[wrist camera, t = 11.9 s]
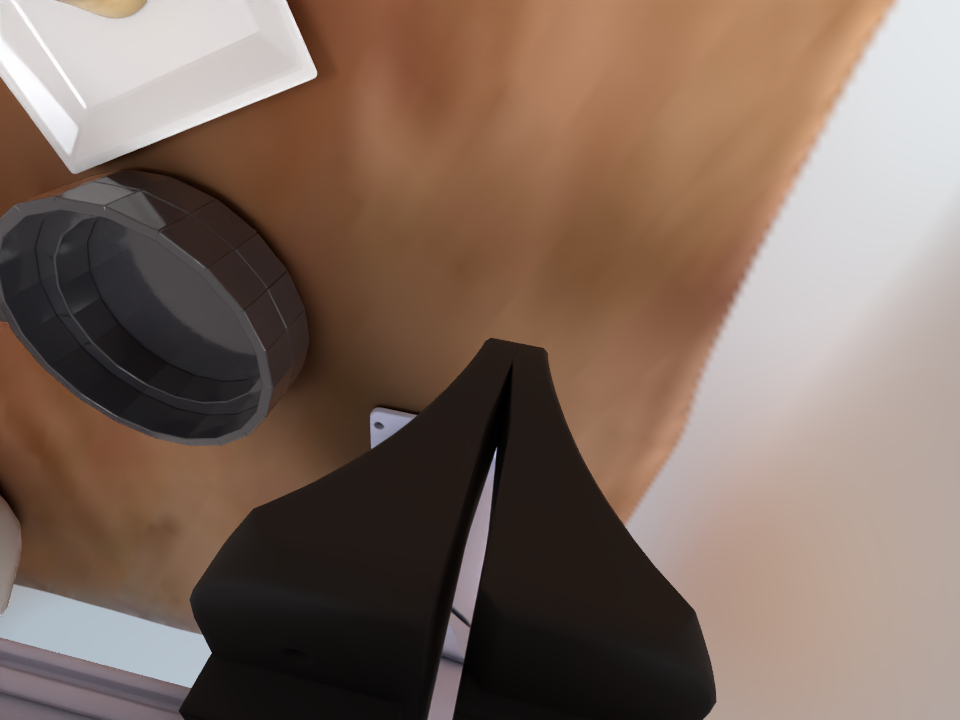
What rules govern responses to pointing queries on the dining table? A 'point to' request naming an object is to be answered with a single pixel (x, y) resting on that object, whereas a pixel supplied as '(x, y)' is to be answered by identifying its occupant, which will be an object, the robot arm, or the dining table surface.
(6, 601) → the chamber pot
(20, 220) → the pan
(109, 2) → the dessert
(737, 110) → the dining table surface
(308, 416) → the dining table surface
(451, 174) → the dining table surface
